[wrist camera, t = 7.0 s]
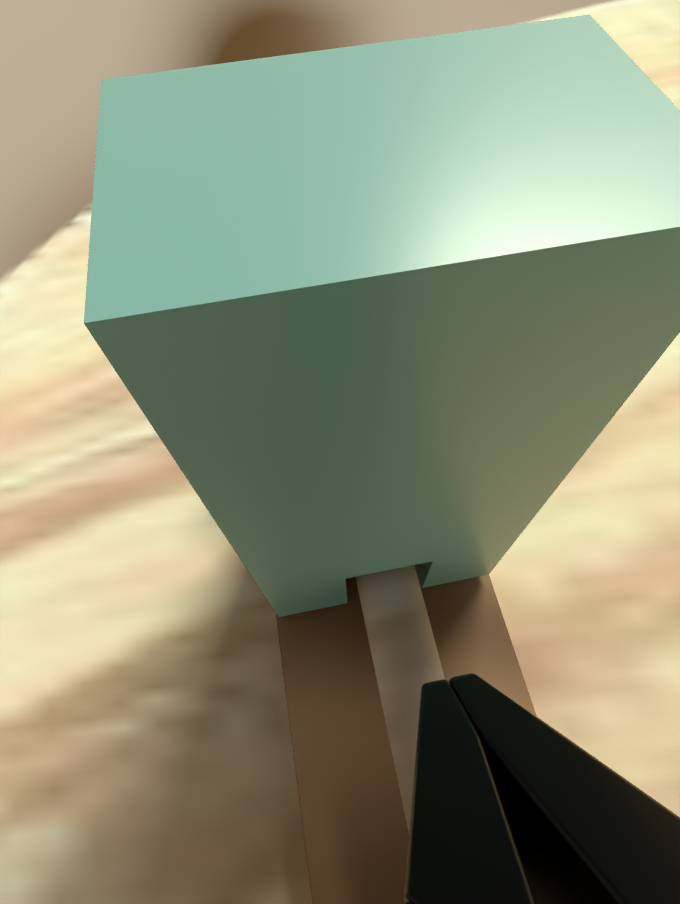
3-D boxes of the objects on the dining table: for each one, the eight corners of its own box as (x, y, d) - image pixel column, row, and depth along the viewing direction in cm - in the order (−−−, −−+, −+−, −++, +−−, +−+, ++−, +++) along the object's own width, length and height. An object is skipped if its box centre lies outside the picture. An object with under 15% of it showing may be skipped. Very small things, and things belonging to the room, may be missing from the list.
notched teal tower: (488, 574, 15) (774, 211, 5) (278, 616, 15) (84, 323, 4) (449, 457, 17) (589, 15, 7) (262, 491, 17) (101, 79, 6)
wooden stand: (632, 1035, 11) (795, 1212, 7) (343, 1112, 11) (333, 1349, 7) (417, 381, 20) (432, 286, 16) (252, 410, 20) (223, 320, 15)
